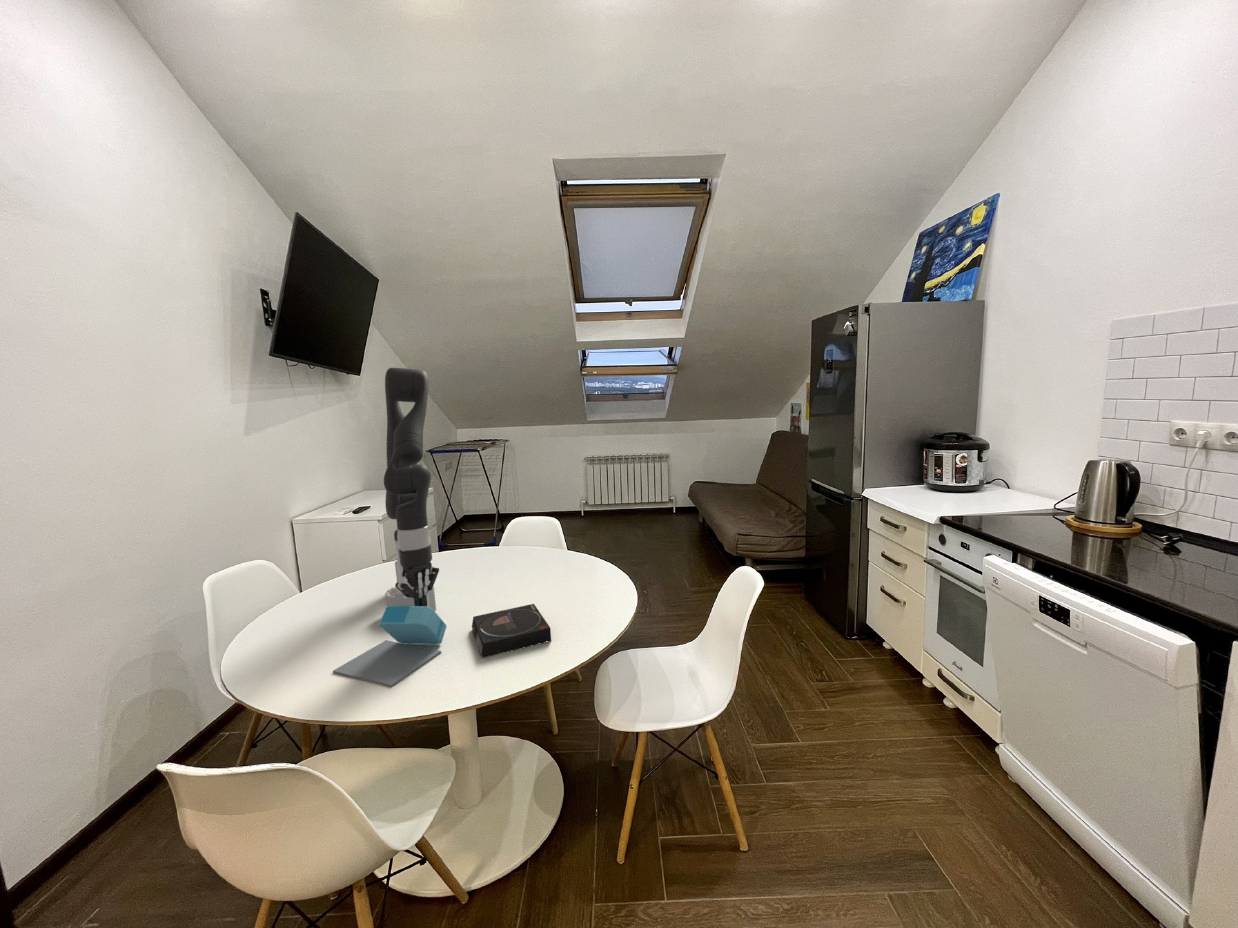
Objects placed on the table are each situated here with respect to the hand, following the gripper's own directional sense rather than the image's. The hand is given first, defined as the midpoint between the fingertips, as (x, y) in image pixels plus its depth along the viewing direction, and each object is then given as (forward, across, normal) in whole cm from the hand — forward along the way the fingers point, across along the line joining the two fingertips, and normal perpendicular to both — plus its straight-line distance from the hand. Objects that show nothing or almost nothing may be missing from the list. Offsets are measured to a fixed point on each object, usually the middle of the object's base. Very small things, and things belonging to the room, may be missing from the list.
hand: (421, 610), depth 125 cm
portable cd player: (+9, -9, +20) cm, 24 cm away
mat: (+8, +11, 0) cm, 14 cm away
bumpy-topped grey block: (+8, -12, -16) cm, 22 cm away
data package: (+7, 0, 0) cm, 7 cm away
